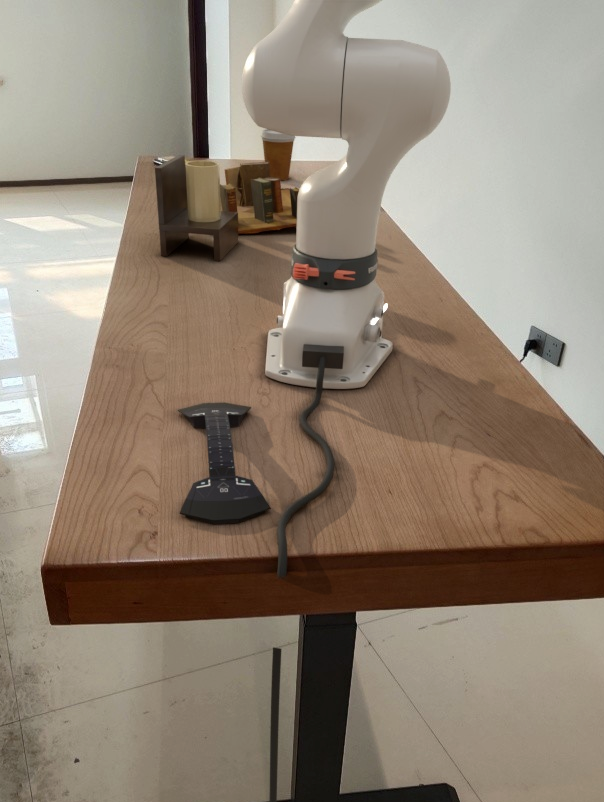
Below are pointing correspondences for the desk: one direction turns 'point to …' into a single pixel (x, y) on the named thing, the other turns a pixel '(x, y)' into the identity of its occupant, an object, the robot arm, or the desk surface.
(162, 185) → the dark grey toy chair
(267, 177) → the book stand
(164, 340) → the desk surface
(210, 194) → the cup
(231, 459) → the dark piece
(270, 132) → the disposable coffee cup
